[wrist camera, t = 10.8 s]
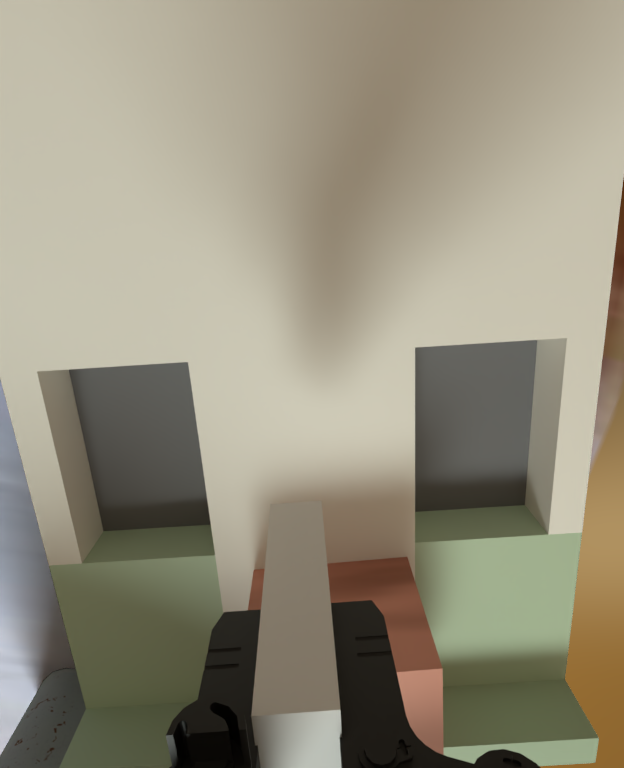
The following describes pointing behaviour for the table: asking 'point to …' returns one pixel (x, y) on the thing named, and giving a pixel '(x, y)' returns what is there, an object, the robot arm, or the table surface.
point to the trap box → (310, 327)
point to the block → (393, 634)
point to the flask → (47, 724)
